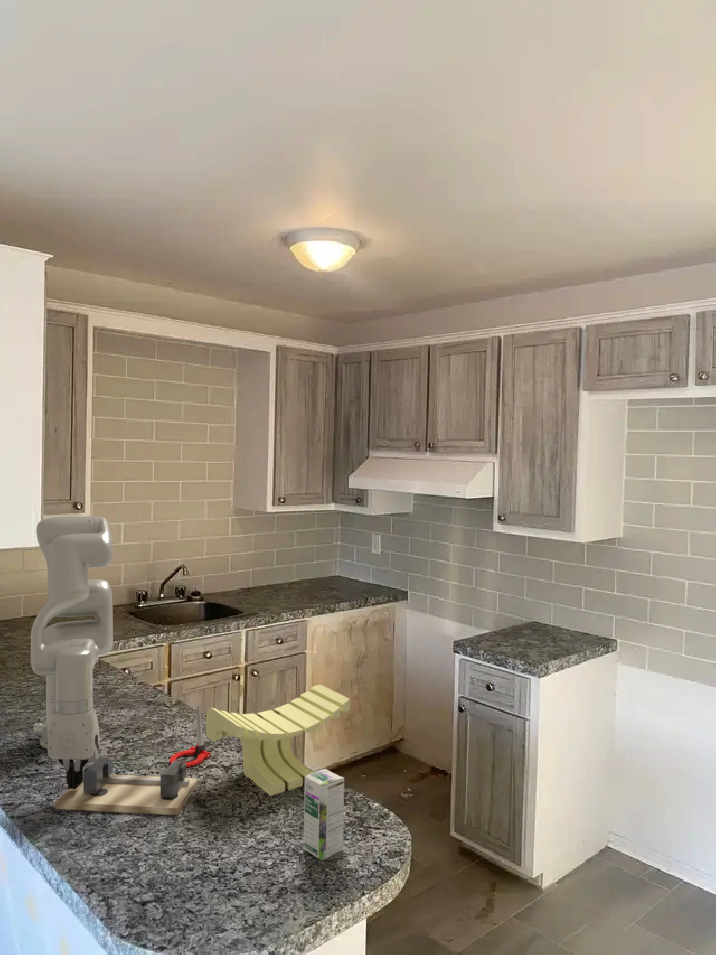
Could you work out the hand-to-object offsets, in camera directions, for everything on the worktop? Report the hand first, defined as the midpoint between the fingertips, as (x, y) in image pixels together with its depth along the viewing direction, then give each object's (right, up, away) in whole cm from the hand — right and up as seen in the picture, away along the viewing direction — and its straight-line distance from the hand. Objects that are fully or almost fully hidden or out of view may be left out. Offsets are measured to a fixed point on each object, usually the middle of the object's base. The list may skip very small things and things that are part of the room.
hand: (74, 786), depth 159 cm
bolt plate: (+12, -3, +1) cm, 12 cm away
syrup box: (+56, -4, -20) cm, 60 cm away
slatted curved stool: (+44, -3, +13) cm, 46 cm away
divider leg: (+4, -1, +2) cm, 5 cm away
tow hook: (+20, -3, +20) cm, 29 cm away
